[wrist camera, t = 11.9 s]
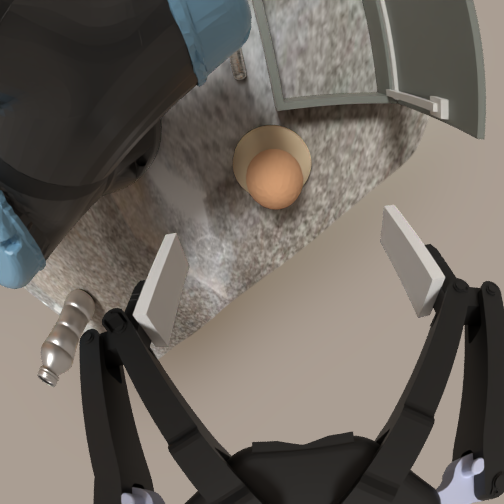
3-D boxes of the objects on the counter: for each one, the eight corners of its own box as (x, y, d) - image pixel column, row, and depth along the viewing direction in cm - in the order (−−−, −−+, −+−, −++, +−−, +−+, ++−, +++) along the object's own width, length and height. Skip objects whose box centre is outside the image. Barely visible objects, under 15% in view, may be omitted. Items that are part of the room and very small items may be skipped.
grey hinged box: (275, 106, 27) (293, 145, 14) (241, -38, 16) (226, -115, 3) (389, 99, 25) (484, 139, 12) (362, -40, 14) (435, -90, 1)
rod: (235, 80, 26) (234, 81, 25) (214, -6, 19) (212, -9, 18) (247, 78, 25) (247, 78, 24) (227, -9, 19) (225, -12, 18)
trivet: (242, 200, 35) (241, 204, 34) (225, 132, 29) (224, 135, 28) (313, 189, 33) (314, 193, 32) (304, 119, 28) (306, 121, 27)
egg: (255, 135, 28) (253, 158, 22) (304, 149, 29) (319, 177, 22) (241, 180, 32) (236, 216, 25) (288, 193, 32) (296, 231, 26)
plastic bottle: (84, 282, 45) (39, 370, 29) (104, 305, 49) (69, 392, 33) (66, 288, 46) (24, 368, 30) (85, 310, 50) (51, 389, 34)
